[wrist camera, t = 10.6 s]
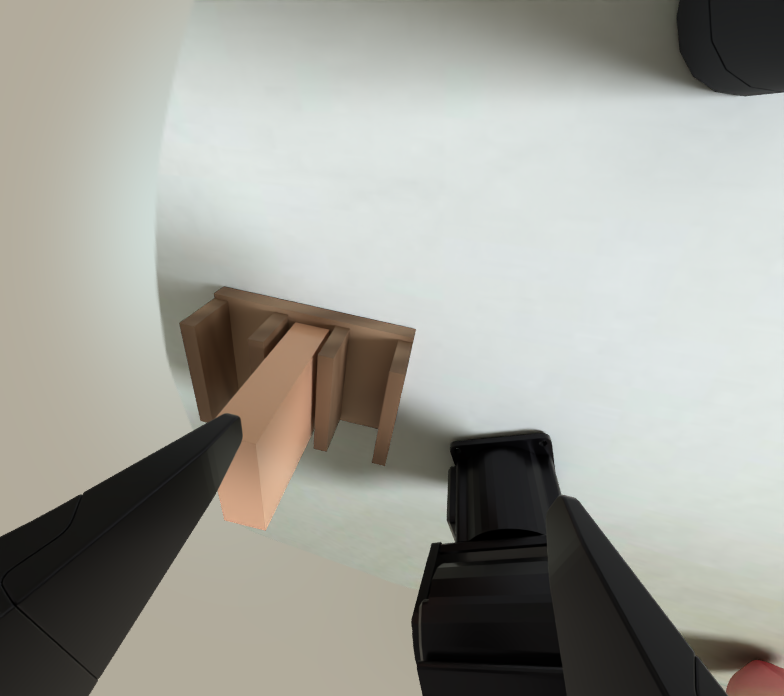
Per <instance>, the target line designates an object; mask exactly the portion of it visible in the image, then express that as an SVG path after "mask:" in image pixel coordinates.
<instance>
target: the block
mask: <svg viewBox="0 0 784 696" xmlns="http://www.w3.org/2000/svg"><path fill="white" fill-rule="evenodd" d="M328 338H329V329H324V328H319V327H315V326H310V325H306V324H301V323H296V322H295V324H294V325H293V326H292V327H291V328H290V330H289V331H288V332H287V333H286V334H285V336H284V337H283V338H282V339H281V340H280V342H279V343H278V344H277V345H276V346H275V347H274V349H273V350H272V351H271V352H270V353H269V355H268V356H267V357H266V358H265V359H264V361H263V362H262V363H261V364H260V365H259V367H258V368H257V369H256V370H255V371H254V373H253V374H252V375H251V376H250V377H249V379H248V380H247V381H246V382H245V383H244V385H243V386H242V387H241V388H240V389H239V391H238V392H237V393H236V394H235V395H234V396H233V398H232V399H231V400H230V401H229V402H228V404H227V405H226V406H225V407H224V408H223V410H222V411H221V412H220V413H219V414H218V416H220V415H222V414H225V413H229V414H234V415H238V416H239V417H240V418H241V424H242V432H243V438H242V442H241V444H240V446H239V448H238V450H237V452H236V454H235V457H234V459H233V461H232V463H231V465H230V467H229V469H228V471H227V473H226V475H225V477H224V479H223V481H222V483H221V485H220V487H219V489H218V494H219V499H220V502H221V507H222V511H223V516H224V520H226V521H230V522H234V523H238V524H241V525H245V526H249V527H253V528H257V529H261V530H265V531H266V529H267V527H268V525H269V523H270V521H271V518H272V516H273V514H274V512H275V510H276V508H277V506H278V504H279V502H280V500H281V498H282V496H283V494H284V491H285V489H286V487H287V485H288V483H289V481H290V479H291V477H292V475H293V473H294V471H295V469H296V467H297V464H298V462H299V460H300V458H301V456H302V454H303V452H304V450H305V448H306V446H307V444H308V442H309V440H310V437H311V435H312V433H313V431H314V429H315V408H316V386H317V364H318V354H319V352H320V351H321V349H322V348H323V346H324V344H325V343H326V341H327V340H328ZM218 416H217V417H218ZM217 417H216V418H217Z"/></svg>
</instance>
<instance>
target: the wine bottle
mask: <svg viewBox="0 0 784 696" xmlns="http://www.w3.org/2000/svg"><path fill="white" fill-rule="evenodd" d="M677 26H678V36H679V46H680V52H681V54H682V56H683V58H684V60H685V62H686V63H687V65H688V67H689V69H690V71H691V73H692V75H693V76H694V77H695V78H696V79H698V80H699V81H701V82H702V83H704V84H705V85H707V86H708V87H709V88H711V89H712V90H714V91H715V92H721V93H728V94H734V95H740V96H752V95H762V94H772V93H782V92H784V0H680V2H679V8H678V13H677Z"/></svg>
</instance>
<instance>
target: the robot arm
mask: <svg viewBox="0 0 784 696" xmlns="http://www.w3.org/2000/svg"><path fill="white" fill-rule="evenodd" d="M242 438H243V432H242V424H241V418H240V417H239V416H238V415H234V414H229V413H225V414H222V415H220V416H218V417H217V418H215V419H213V420H211V421H210V422H208V423H206V424H204V425H202V426H201V427H199V428H197V429H195V430H194V431H192V432H190V433H188V434H187V435H185V436H183V437H182V438H180V439H178V440H176V441H174V442H172V443H171V444H169V445H167V446H165V447H164V448H162V449H160V450H158V451H156V452H155V453H153V454H151V455H149V456H148V457H146V458H144V459H142V460H140V461H139V462H137V463H135V464H133V465H131V466H130V467H128V468H126V469H124V470H123V471H121V472H119V473H117V474H115V475H114V476H112V477H110V478H108V479H107V480H105V481H103V482H101V483H100V484H98V485H96V486H94V487H92V488H91V489H89V490H87V491H85V492H84V493H83V495H78V496H76V497H75V498H73V499H71V500H69V501H67V502H66V503H64V504H62V505H60V506H58V507H57V508H55V509H53V510H51V511H49V512H47V513H46V514H44V515H42V516H40V517H39V518H36V519H34V520H33V521H31V522H29V523H27V524H25V525H23V526H21V527H19V528H17V529H15V530H13V531H11V532H9V533H7V534H5V535H3V536H1V537H0V696H89V694H90V693H91V691H92V690H93V688H94V686H95V685H96V683H97V681H98V679H99V678H100V676H101V675H102V673H103V672H104V670H105V668H106V667H107V665H108V664H109V662H110V660H111V659H112V657H113V656H114V654H115V653H116V651H117V649H118V648H119V646H120V645H121V643H122V642H123V640H124V639H125V637H126V635H127V634H128V632H129V630H130V629H131V627H132V626H133V624H134V622H135V621H136V620H137V618H138V616H139V615H140V613H141V612H142V610H143V608H144V607H145V605H146V604H147V602H148V600H149V599H150V597H151V596H152V594H153V593H154V591H155V589H156V588H157V586H158V585H159V583H160V582H161V580H162V578H163V577H164V575H165V573H166V572H167V570H168V569H169V567H170V565H171V564H172V563H173V561H174V559H175V558H176V556H177V555H178V553H179V551H180V550H181V548H182V547H183V545H184V543H185V542H186V540H187V539H188V537H189V535H190V534H191V533H192V531H193V529H194V528H195V526H196V525H197V523H198V521H199V520H200V518H201V517H202V515H203V513H204V512H205V510H206V509H207V507H208V506H209V504H210V502H211V501H212V499H213V498H214V496H215V494H216V492H217V491H218V489H219V487H220V485H221V483H222V481H223V479H224V477H225V475H226V473H227V471H228V469H229V467H230V465H231V463H232V461H233V459H234V457H235V454H236V452H237V450H238V448H239V446H240V444H241V442H242ZM541 441H543V442H541ZM456 448H459V449H456ZM450 452H451V455H452V458H453V461H454V464H455V466H453V467H450V469H449V471H448V498H447V522H448V525H449V527H450V530H451V532H452V535H453V537H454V540H455V543H446V544H442V543H441V542H438V543H432V544H431V548H430V552H429V556H428V559H427V562H426V566H425V570H424V574H423V578H422V582H421V585H420V589H419V593H418V597H417V601H416V604H415V608H414V612H413V616H412V621H411V623H412V630H413V631H412V637H413V647H414V654H415V660H416V664H417V671H418V676H419V681H420V685H421V690H422V695H423V696H728V695H727V693H726V692H725V691H724V690H723V688H722V687H721V686H720V684H719V683H718V682H717V681H716V679H715V678H714V677H713V675H712V674H711V673H710V672H709V670H708V669H707V668H706V666H705V665H704V664H703V662H702V661H701V660H700V658H699V657H697V656H695V652H694V651H693V650H692V648H691V647H690V646H689V644H688V643H687V642H686V640H685V639H684V638H683V636H682V635H681V634H680V633H679V631H678V630H677V629H676V627H675V626H674V625H673V623H672V622H671V621H670V619H669V618H668V617H667V616H666V614H665V613H664V612H663V610H662V609H661V608H660V606H659V605H658V604H657V602H656V601H655V600H654V599H653V597H652V596H651V595H650V593H649V592H648V591H647V589H646V588H645V587H644V585H643V584H642V583H641V582H640V580H639V579H638V578H637V576H636V575H635V574H634V572H633V571H632V570H631V568H630V567H629V566H628V565H627V563H626V562H625V561H624V559H623V558H622V557H621V555H620V554H619V553H618V551H617V550H616V549H615V548H614V546H613V545H612V544H611V542H610V541H609V540H608V538H607V537H606V536H605V534H604V533H603V532H602V531H601V529H600V528H599V527H598V525H597V524H596V523H595V521H594V520H593V519H592V517H591V516H590V515H589V514H588V512H587V511H586V510H585V508H584V507H583V506H582V504H581V503H580V502H579V501H578V500H577V499H576V498H574V497H570V496H566V495H561V491H560V487H559V484H558V480H557V476H556V473H555V465H554V457H553V449H552V442H551V439H550V436H549V435H548V434H545V433H539V434H528V435H518V436H507V437H496V438H486V439H475V440H464V441H455V442H453V443H451V445H450Z"/></svg>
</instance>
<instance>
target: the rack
mask: <svg viewBox="0 0 784 696" xmlns="http://www.w3.org/2000/svg"><path fill="white" fill-rule="evenodd" d="M214 297H215V298H214V299H213V300H211V301H210V302H208V303H207V304H206V305H204V306H203V307H201V308H200V309H198V310H197V311H196V312H194V313H193V314H191V315H190V316H189V317H187V318H186V319H184V320H183V321H181V322H180V323H179V324H180V329H181V333H182V338H183V342H184V347H185V352H186V356H187V361H188V365H189V370H190V375H191V379H192V384H193V388H194V393H195V398H196V402H197V407H198V411H199V416H200V420H201V421H203V422H207V423H208V422H210V421H211V420H213V419H215V418H216V417H217V416H218V414H219V413H220V412H221V411H222V410H223V408H224V407H225V406H226V405H227V404H228V402H229V401H230V400H231V399H232V398H233V396H234V395H235V394H236V393H237V392H238V391H239V389H240V388H241V387H242V386H243V385H244V383H245V382H246V381H247V380H248V379H249V377H250V376H251V375H252V374H253V373H254V371H255V370H256V369H257V368H258V367H259V365H260V364H261V363H262V362H263V361H264V359H265V358H266V357H267V356H268V355H269V353H270V352H271V351H272V350H273V349H274V347H275V346H276V345H277V344H278V343H279V342H280V340H281V339H282V338H283V337H284V336H285V334H286V333H287V332H288V331H289V330H290V328H291V327H292V326H293V325H294V324H295V322H296V323H301V324H306V325H310V326H315V327H319V328H324V329H329V338H328V340H327V341H326V343H325V344H324V346H323V348H322V349H321V351H320V352H319V354H318V364H317V386H316V408H315V431H314V449H317V450H321V451H326V452H327V449H328V447H329V444H330V442H331V440H332V437H333V435H334V432H335V430H336V427H337V425H338V423H339V420H343V421H347V422H351V423H355V424H360V425H364V426H368V427H372V428H376V429H378V433H377V439H376V444H375V449H374V454H373V459H372V463H375V464H379V465H383V466H385V463H386V459H387V454H388V450H389V446H390V441H391V437H392V433H393V428H394V424H395V420H396V415H397V411H398V406H399V402H400V398H401V393H402V389H403V385H404V380H405V376H406V371H407V367H408V362H409V358H410V353H411V349H412V344H413V340H414V335H415V331H416V329H412V328H408V327H403V326H399V325H394V324H390V323H385V322H381V321H376V320H372V319H367V318H363V317H358V316H354V315H349V314H345V313H340V312H336V311H331V310H327V309H322V308H318V307H313V306H309V305H304V304H300V303H295V302H291V301H286V300H282V299H278V298H273V297H269V296H264V295H260V294H255V293H251V292H246V291H242V290H237V289H233V288H228V287H223V288H221V289H220V290H218V291H217V292H215V293H214Z"/></svg>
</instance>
